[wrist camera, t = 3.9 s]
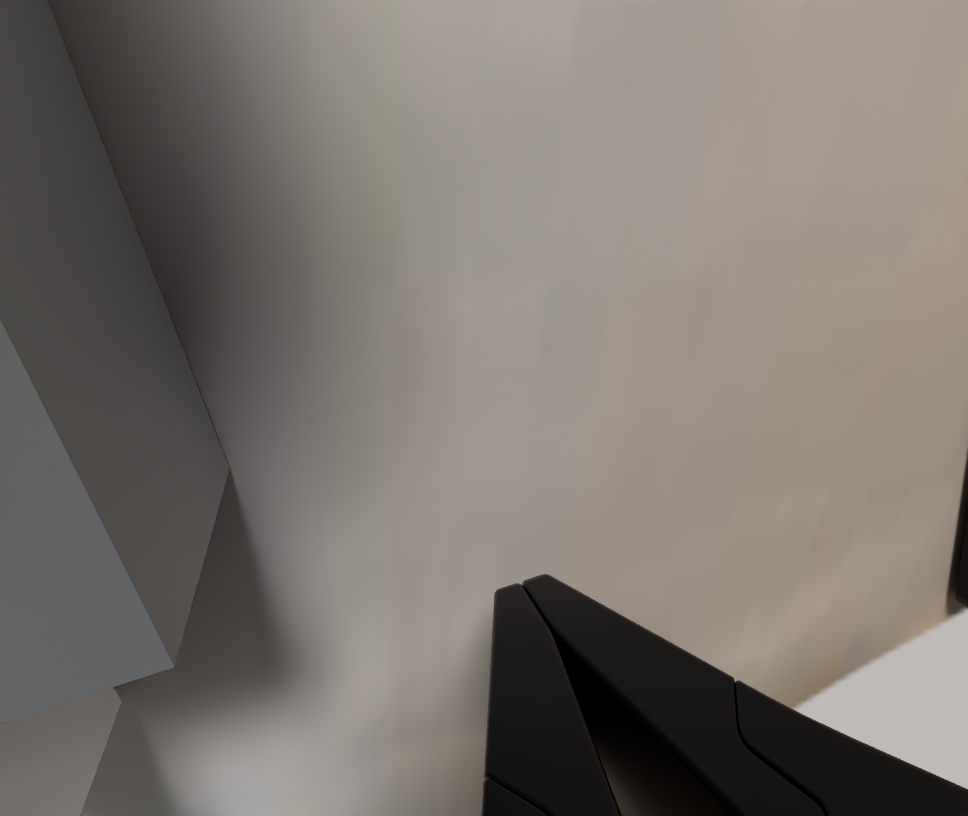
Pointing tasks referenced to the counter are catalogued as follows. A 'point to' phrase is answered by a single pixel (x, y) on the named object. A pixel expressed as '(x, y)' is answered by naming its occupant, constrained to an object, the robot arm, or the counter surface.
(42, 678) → the sliding door box
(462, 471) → the counter surface
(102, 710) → the side door
